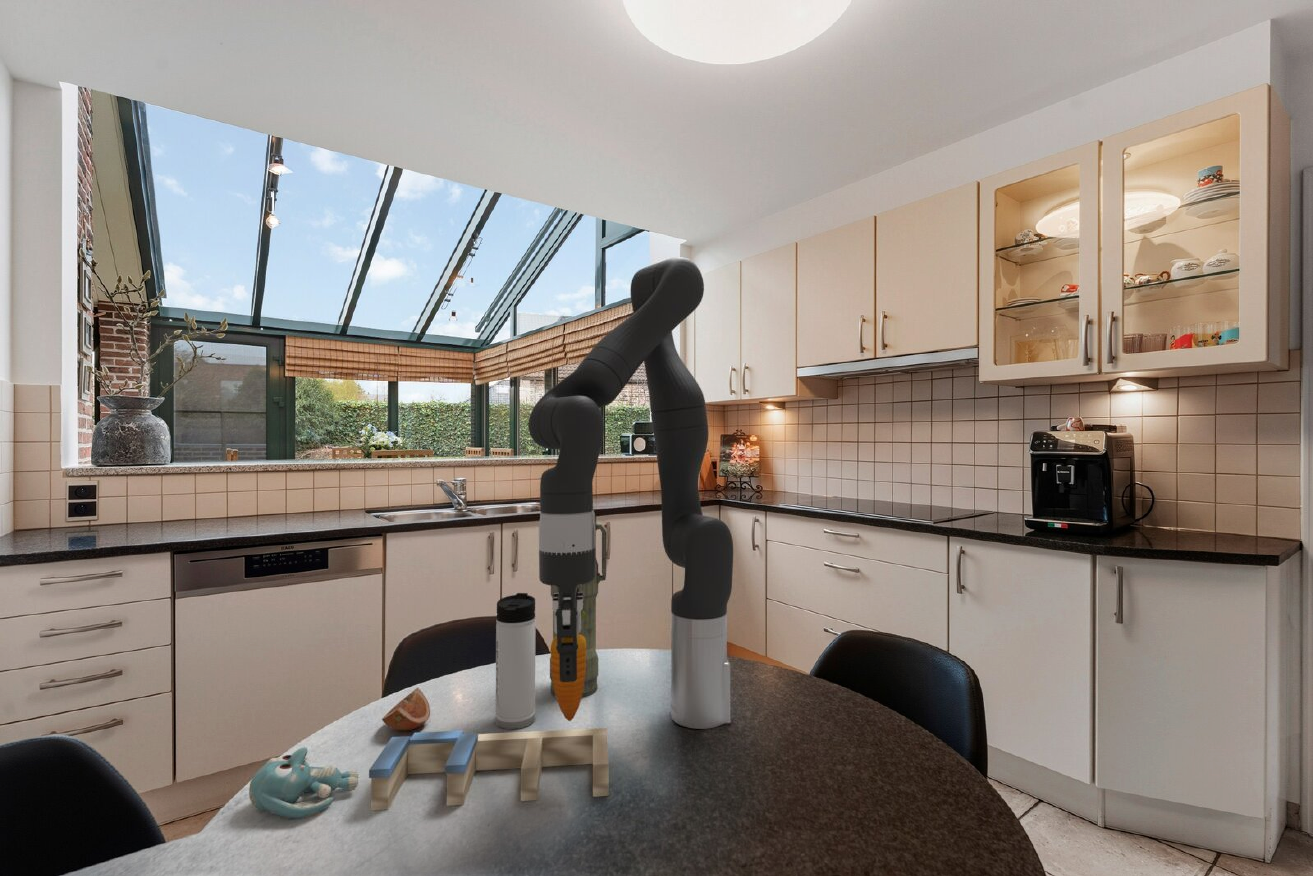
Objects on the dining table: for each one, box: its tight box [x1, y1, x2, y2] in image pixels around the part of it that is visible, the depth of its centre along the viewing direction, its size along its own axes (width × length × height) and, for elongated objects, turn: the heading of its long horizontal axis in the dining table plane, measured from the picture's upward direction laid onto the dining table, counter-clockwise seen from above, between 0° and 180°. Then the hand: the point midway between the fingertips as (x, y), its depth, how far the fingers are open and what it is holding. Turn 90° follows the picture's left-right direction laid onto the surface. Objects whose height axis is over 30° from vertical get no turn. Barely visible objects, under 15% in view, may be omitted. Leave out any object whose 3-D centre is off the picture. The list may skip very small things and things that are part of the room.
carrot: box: [550, 611, 586, 722], centre depth 80 cm, size 5×5×15 cm
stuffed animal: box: [248, 746, 359, 820], centre depth 75 cm, size 11×7×12 cm
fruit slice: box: [381, 687, 431, 731], centre depth 94 cm, size 8×7×5 cm
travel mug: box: [495, 592, 536, 730], centre depth 97 cm, size 6×7×20 cm
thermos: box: [549, 509, 608, 698], centre depth 110 cm, size 9×12×35 cm
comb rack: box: [368, 727, 610, 811], centre depth 79 cm, size 29×10×5 cm, turn 96°
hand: (569, 672), depth 80 cm, fingers closed on carrot, 4 cm apart
